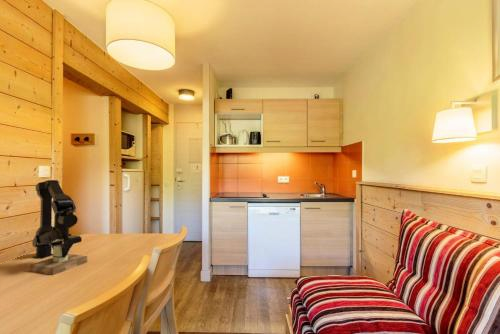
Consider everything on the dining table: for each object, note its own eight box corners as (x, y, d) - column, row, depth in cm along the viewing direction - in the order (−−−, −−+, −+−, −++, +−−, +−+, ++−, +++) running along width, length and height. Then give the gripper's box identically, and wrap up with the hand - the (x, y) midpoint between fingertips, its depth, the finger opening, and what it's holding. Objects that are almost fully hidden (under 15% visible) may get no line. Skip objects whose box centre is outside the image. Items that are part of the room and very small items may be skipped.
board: (30, 271, 108) (30, 264, 108) (66, 259, 123) (66, 253, 123) (53, 275, 104) (53, 268, 104) (87, 262, 119) (87, 256, 119)
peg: (52, 263, 112) (53, 246, 112) (61, 260, 116) (62, 243, 116) (59, 264, 111) (59, 247, 111) (67, 261, 115) (68, 244, 115)
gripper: (28, 226, 109) (26, 260, 108) (59, 229, 104) (57, 265, 103) (54, 221, 120) (53, 252, 119) (83, 224, 115) (81, 256, 114)
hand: (60, 256), depth 114 cm, fingers closed on peg, 4 cm apart
